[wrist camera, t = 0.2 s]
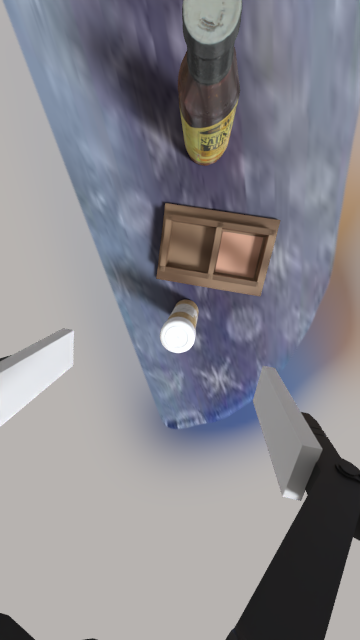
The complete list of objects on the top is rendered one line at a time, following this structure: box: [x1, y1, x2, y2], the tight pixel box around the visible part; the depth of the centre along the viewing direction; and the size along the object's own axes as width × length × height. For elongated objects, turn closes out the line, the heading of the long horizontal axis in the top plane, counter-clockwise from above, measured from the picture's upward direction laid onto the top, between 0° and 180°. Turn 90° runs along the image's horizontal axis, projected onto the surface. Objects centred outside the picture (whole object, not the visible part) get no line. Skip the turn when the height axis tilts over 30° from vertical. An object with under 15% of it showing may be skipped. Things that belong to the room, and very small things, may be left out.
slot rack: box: [156, 203, 280, 296], centre depth 37 cm, size 12×18×3 cm, turn 81°
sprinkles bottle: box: [160, 299, 198, 353], centre depth 36 cm, size 5×5×14 cm
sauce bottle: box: [178, 0, 242, 166], centre depth 25 cm, size 6×6×20 cm
